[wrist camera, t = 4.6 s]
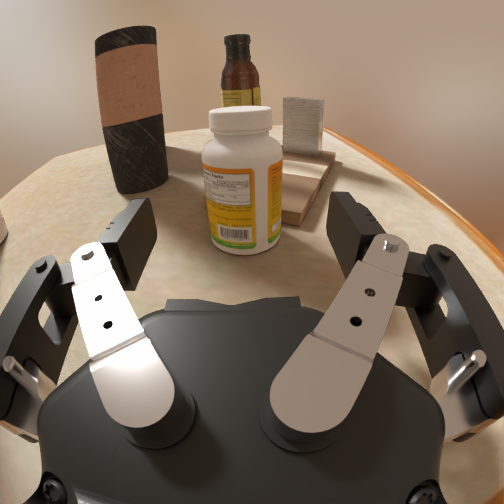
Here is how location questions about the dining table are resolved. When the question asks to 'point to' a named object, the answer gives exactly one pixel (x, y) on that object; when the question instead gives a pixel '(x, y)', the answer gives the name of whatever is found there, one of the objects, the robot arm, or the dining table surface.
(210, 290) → the dining table surface
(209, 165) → the supplement bottle
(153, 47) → the travel mug
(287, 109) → the silver rectangular block
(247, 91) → the sauce bottle
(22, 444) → the dining table surface
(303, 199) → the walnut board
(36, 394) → the robot arm
